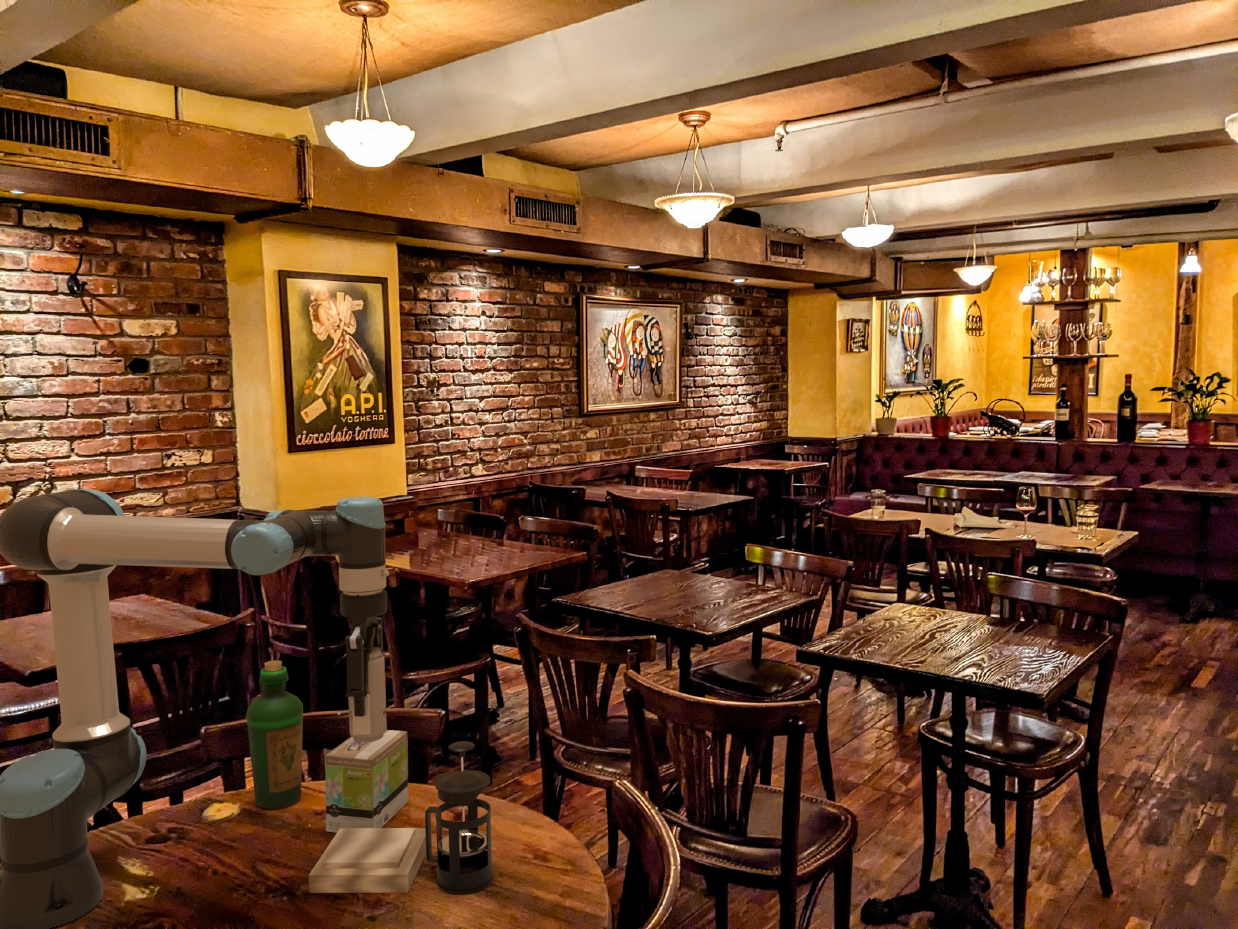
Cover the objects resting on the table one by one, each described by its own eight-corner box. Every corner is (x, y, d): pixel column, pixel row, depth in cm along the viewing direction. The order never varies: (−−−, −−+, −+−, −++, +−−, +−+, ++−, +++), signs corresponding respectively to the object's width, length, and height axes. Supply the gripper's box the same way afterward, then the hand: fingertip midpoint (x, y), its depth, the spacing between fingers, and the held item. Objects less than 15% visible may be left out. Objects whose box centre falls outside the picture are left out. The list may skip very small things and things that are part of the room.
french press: (504, 868, 157) (502, 735, 155) (486, 898, 147) (483, 757, 146) (439, 862, 159) (435, 731, 157) (417, 891, 150) (413, 752, 148)
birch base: (309, 892, 149) (308, 869, 149) (340, 844, 165) (339, 823, 165) (408, 892, 149) (407, 868, 149) (429, 844, 165) (429, 822, 165)
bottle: (296, 813, 178) (290, 670, 176) (241, 813, 178) (234, 671, 176) (314, 789, 189) (309, 654, 187) (262, 790, 189) (256, 655, 187)
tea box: (375, 838, 168) (372, 758, 167) (324, 833, 170) (322, 755, 169) (410, 802, 183) (408, 729, 182) (363, 798, 185) (360, 726, 184)
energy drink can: (393, 736, 156) (391, 649, 154) (361, 746, 151) (358, 656, 150) (375, 727, 160) (372, 642, 159) (343, 737, 156) (340, 649, 154)
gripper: (369, 603, 144) (374, 747, 146) (400, 579, 163) (404, 707, 165) (321, 603, 144) (327, 748, 146) (357, 579, 163) (362, 707, 165)
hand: (367, 726), depth 155 cm, fingers closed on energy drink can, 6 cm apart
